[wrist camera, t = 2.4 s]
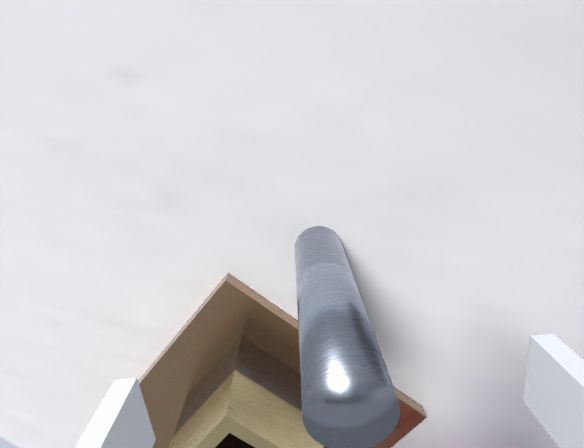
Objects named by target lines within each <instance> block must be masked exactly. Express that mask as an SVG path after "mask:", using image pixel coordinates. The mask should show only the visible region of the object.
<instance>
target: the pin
mask: <svg viewBox="0 0 584 448" xmlns="http://www.w3.org/2000/svg"><path fill="white" fill-rule="evenodd" d="M295 260H296V283H297V305H298V328H299V350H300V372H301V395H302V417H303V424H304V426H305V429H306V430H307V432H308V434H309V435H310V436H311V437H312V438H313V439H314V440H315V441H317V442H318V443H319V444H321V445H323V446H325V447H328V448H369V447H372V446H374V445H376V444H378V443H380V442H381V441H383V440H384V439H385V438H387V437H388V436H389V435H390V434H391V433H392V431H393V430H394V429H395V427H396V425H397V423H398V421H399V417H400V405H399V401H398V398H397V396H396V393H395V390H394V387H393V385H392V382H391V379H390V376H389V373H388V371H387V368H386V365H385V362H384V360H383V357H382V354H381V351H380V348H379V346H378V343H377V340H376V337H375V335H374V332H373V329H372V326H371V323H370V321H369V318H368V315H367V312H366V310H365V307H364V304H363V301H362V299H361V296H360V293H359V290H358V287H357V285H356V282H355V279H354V276H353V274H352V271H351V268H350V265H349V262H348V260H347V257H346V254H345V251H344V249H343V246H342V243H341V240H340V238H339V236H338V235H337V234H336V233H335V232H334V231H333V230H331V229H329V228H326V227H320V226H318V227H312V228H309V229H307V230H305V231H304V232H303V233H302V234H301V235H300V236H299V237H298V239H297V241H296V244H295Z"/></svg>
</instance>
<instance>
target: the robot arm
mask: <svg viewBox="0 0 584 448" xmlns="http://www.w3.org/2000/svg"><path fill="white" fill-rule="evenodd" d="M523 403H524V404H525V405H526V406H527V408H528V409H529V410H530V412H531V413H532V414H533V415H534V417H535V418H536V419H537V420H538V422H539V423H540V424H541V425H542V427H543V428H544V429H545V431H546V432H547V433H548V434H549V436H550V437H551V438H552V439H553V441H554V442H555V443H556V444H557V446H558V447H559V448H584V359H583V358H581V357H580V356H579V355H578V354H577V353H576V352H575V351H573V350H572V349H571V348H570V347H569V346H568V345H566V344H565V343H564V342H563V341H562V340H561V339H560V338H558V337H557V336H556V335H555V334H554V333H553V334H544V335H534V336H530V344H529V352H528V360H527V368H526V377H525V385H524V393H523ZM155 440H156V438H155V435H154V432H153V429H152V425H151V422H150V419H149V415H148V412H147V409H146V406H145V402H144V399H143V396H142V392H141V389H140V386H139V383H138V379H137V377H136V378H127V379H117V380H114V381H113V383H112V385H111V386H110V388H109V390H108V391H107V393H106V395H105V396H104V398H103V400H102V401H101V403H100V405H99V406H98V408H97V410H96V411H95V413H94V415H93V416H92V418H91V420H90V422H89V423H88V425H87V427H86V428H85V430H84V432H83V433H82V435H81V437H80V438H79V440H78V442H77V443H76V445H75V447H74V448H153V445H154V443H155Z"/></svg>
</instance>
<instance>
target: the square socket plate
mask: <svg viewBox="0 0 584 448" xmlns="http://www.w3.org/2000/svg"><path fill="white" fill-rule="evenodd" d="M138 383H139V386H140V389H141V392H142V396H143V399H144V402H145V406H146V409H147V412H148V415H149V419H150V422H151V425H152V429H153V432H154V435H155V438H156V440H155V443H154V445H153V448H328V447H325V446H323V445H321V444H319V443H318V442H317V441H315V440H314V439H313V438H312V437H311V436H310V435H309V434H308V432H307V430H306V429H305V426H304V424H303V417H302V395H301V372H300V350H299V328H298V321H297V320H296V319H294V318H293V317H291V316H290V315H288V314H287V313H286V312H284V311H283V310H281V309H280V308H278V307H277V306H275V305H274V304H272V303H271V302H270V301H268V300H267V299H265V298H264V297H262V296H261V295H259V294H258V293H256V292H255V291H254V290H252V289H251V288H249V287H248V286H246V285H245V284H243V283H242V282H240V281H239V280H238V279H236V278H235V277H233V276H232V275H230V274H229V273H228V274H227V275H226V276H225V277H224V278H223V280H222V281H221V282H220V283H219V284H218V286H217V287H216V288H215V289H214V291H213V292H212V293H211V294H210V295H209V297H208V298H207V299H206V300H205V301H204V303H203V304H202V305H201V306H200V307H199V309H198V310H197V311H196V312H195V313H194V315H193V316H192V317H191V318H190V319H189V321H188V322H187V323H186V324H185V325H184V327H183V328H182V329H181V330H180V332H179V333H178V334H177V335H176V336H175V338H174V339H173V340H172V341H171V342H170V344H169V345H168V346H167V347H166V348H165V350H164V351H163V352H162V353H161V354H160V356H159V357H158V358H157V359H156V360H155V362H154V363H153V364H152V365H151V367H150V368H149V369H148V370H147V371H146V373H145V374H144V375H143V376H142V377H141V379H140V380H139V381H138ZM394 390H395V393H396V396H397V398H398V401H399V405H400V417H399V421H398V423H397V425H396V427H395V429H394V430H393V431H392V433H391V434H390V435H389V436H388V437H387V438H385V439H384V440H383V441H381V442H380V443H378V444H376V445H374V446H372V447H369V448H391V447H392V446H393V445H394V444H396V443H397V442H398V441H399V440H400V439H401V438H403V437H404V436H405V435H406V434H407V433H409V432H410V431H411V430H412V429H413V428H415V427H416V426H417V425H418V424H419V423H420V422H422V421H423V420H424V419H425V418H426V414H425V412H424V410H423V407H422V406H421V405H419V404H418V403H416V402H415V401H414V400H412V399H411V398H409V397H408V396H406V395H405V394H403V393H402V392H400V391H399V390H398V389H396V388H395V387H394Z"/></svg>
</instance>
